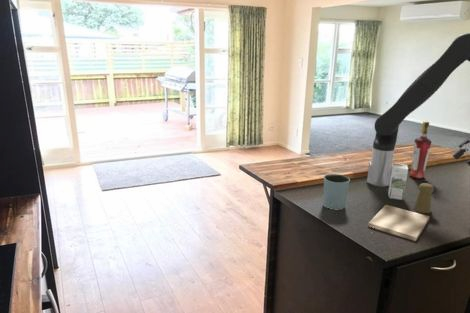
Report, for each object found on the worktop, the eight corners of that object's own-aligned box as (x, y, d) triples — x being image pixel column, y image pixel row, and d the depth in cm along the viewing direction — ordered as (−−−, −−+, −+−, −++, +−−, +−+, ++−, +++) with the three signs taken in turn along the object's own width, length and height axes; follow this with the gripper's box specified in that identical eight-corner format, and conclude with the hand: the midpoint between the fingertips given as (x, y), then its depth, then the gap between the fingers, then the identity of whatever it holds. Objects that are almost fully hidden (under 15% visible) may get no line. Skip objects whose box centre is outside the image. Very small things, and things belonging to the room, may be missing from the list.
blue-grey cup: (319, 208, 145) (322, 180, 142) (323, 198, 154) (325, 172, 151) (346, 212, 142) (349, 184, 138) (347, 202, 151) (350, 175, 147)
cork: (410, 206, 148) (415, 181, 144) (425, 206, 148) (429, 181, 145) (419, 213, 142) (424, 187, 139) (434, 213, 143) (439, 187, 139)
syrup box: (401, 195, 159) (407, 164, 154) (403, 200, 153) (408, 168, 149) (387, 193, 160) (392, 162, 156) (388, 198, 155) (393, 166, 151)
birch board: (368, 226, 131) (368, 222, 131) (385, 208, 146) (385, 204, 146) (415, 241, 122) (416, 237, 121) (428, 219, 137) (429, 216, 136)
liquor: (406, 174, 185) (415, 120, 176) (421, 175, 184) (431, 120, 175) (411, 179, 178) (420, 123, 170) (427, 180, 177) (437, 123, 169)
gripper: (478, 121, 142) (444, 149, 145) (505, 129, 128) (467, 160, 132) (489, 134, 144) (455, 162, 147) (517, 143, 130) (479, 174, 133)
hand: (461, 161), depth 139 cm, fingers open, 8 cm apart
